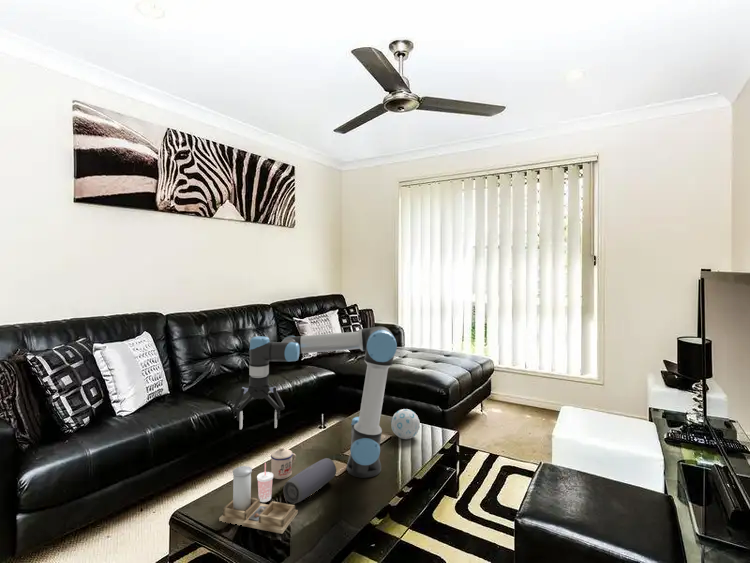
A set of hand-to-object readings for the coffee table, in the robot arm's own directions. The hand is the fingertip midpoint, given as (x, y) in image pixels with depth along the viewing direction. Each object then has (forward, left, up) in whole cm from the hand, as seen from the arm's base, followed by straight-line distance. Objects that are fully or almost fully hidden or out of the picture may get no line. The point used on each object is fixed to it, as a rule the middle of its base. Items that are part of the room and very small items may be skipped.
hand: (258, 427), depth 166 cm
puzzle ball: (-49, -64, -24) cm, 85 cm away
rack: (-12, +19, -24) cm, 32 cm away
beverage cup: (-8, +8, -24) cm, 26 cm away
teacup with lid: (-6, -12, -24) cm, 27 cm away
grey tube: (-5, +19, -23) cm, 30 cm away
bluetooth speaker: (-23, -1, -24) cm, 33 cm away
